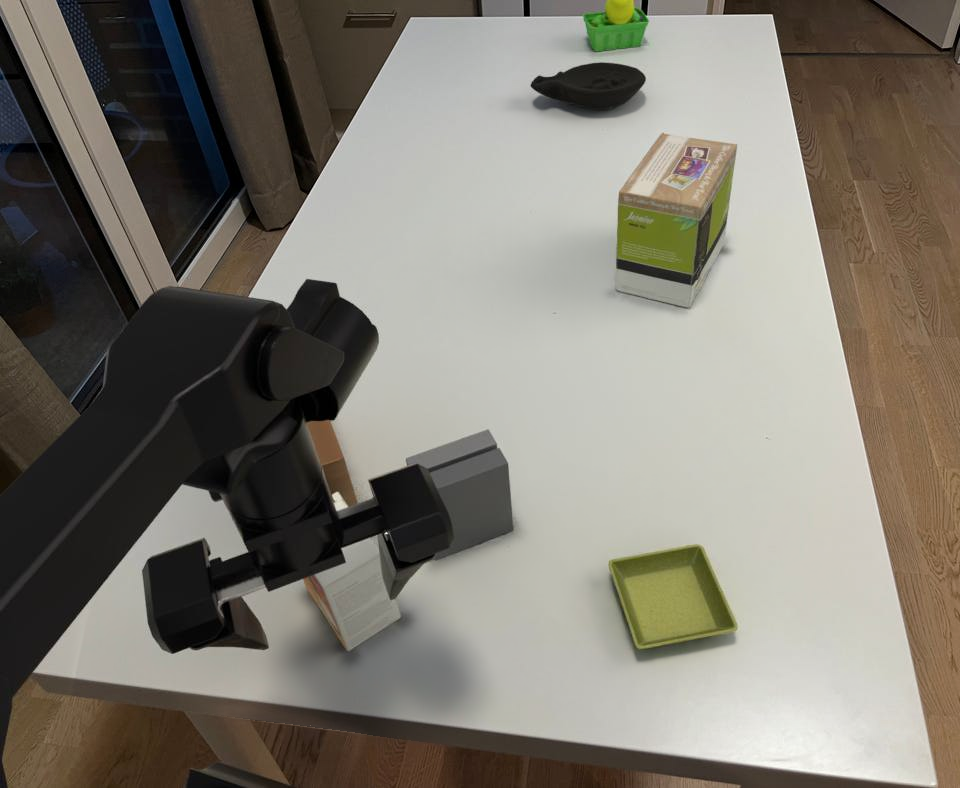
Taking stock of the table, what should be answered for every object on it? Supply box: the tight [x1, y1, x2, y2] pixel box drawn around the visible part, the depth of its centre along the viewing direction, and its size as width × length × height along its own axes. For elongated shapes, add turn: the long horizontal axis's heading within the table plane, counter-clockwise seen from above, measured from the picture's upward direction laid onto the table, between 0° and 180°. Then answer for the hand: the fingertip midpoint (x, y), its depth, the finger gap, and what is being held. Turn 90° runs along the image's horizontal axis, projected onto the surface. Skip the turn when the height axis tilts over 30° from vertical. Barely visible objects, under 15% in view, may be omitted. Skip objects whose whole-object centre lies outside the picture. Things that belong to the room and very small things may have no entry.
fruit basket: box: [582, 0, 650, 52], centre depth 151 cm, size 11×9×11 cm
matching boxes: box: [307, 420, 359, 507], centre depth 78 cm, size 6×16×11 cm, turn 22°
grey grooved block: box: [405, 429, 514, 561], centre depth 73 cm, size 8×4×10 cm, turn 112°
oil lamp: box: [530, 61, 647, 110], centre depth 137 cm, size 15×20×5 cm
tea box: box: [614, 132, 738, 308], centre depth 98 cm, size 15×10×15 cm, turn 152°
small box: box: [302, 492, 401, 652], centre depth 68 cm, size 8×6×10 cm
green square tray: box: [607, 543, 739, 650], centre depth 68 cm, size 9×9×2 cm
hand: (329, 618), depth 56 cm, fingers open, 9 cm apart
